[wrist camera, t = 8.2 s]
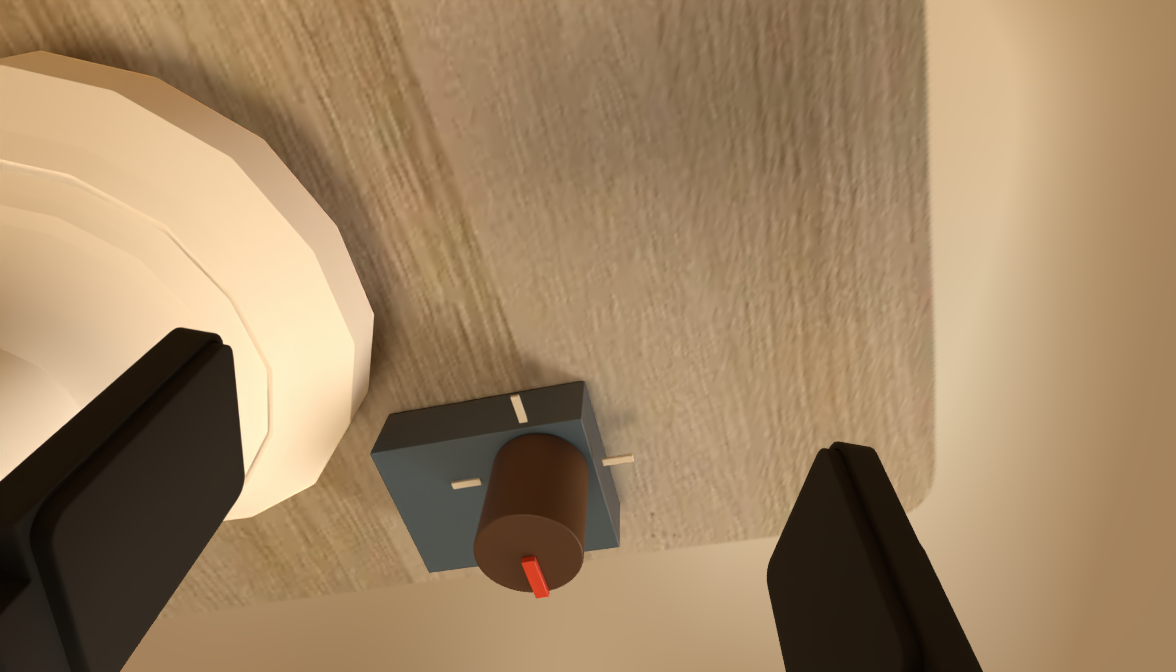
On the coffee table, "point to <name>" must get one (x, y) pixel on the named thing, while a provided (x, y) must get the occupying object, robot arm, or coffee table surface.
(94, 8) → the coffee table surface
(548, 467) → the knob
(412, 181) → the coffee table surface
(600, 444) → the panel
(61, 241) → the white vase
